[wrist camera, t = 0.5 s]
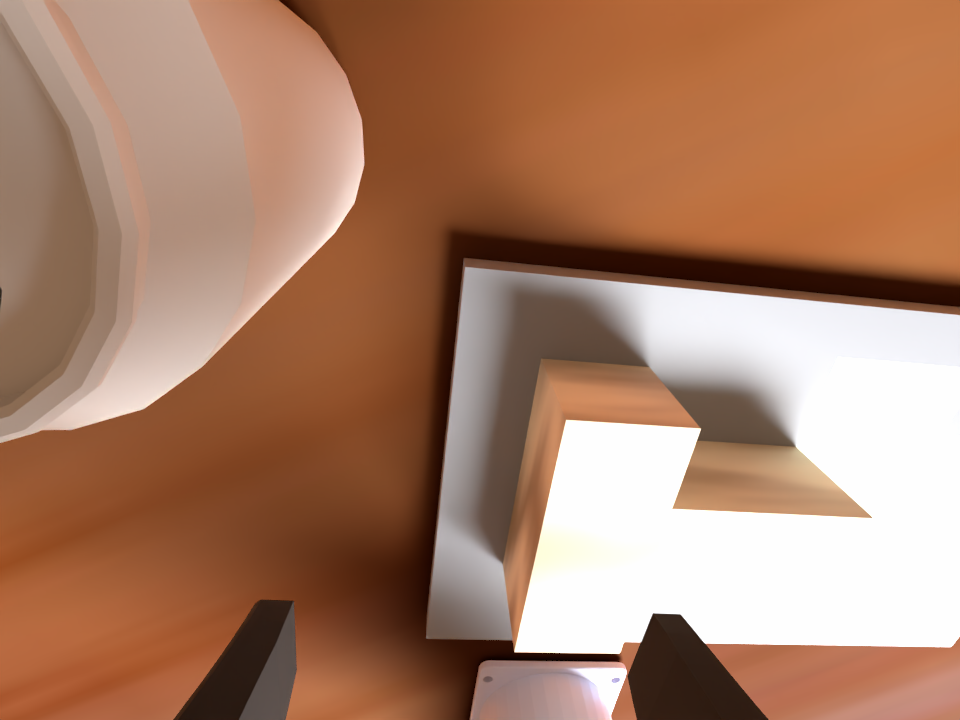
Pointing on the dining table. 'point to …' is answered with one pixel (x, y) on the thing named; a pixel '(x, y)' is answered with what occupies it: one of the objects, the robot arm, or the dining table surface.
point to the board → (720, 435)
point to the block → (655, 513)
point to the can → (154, 191)
